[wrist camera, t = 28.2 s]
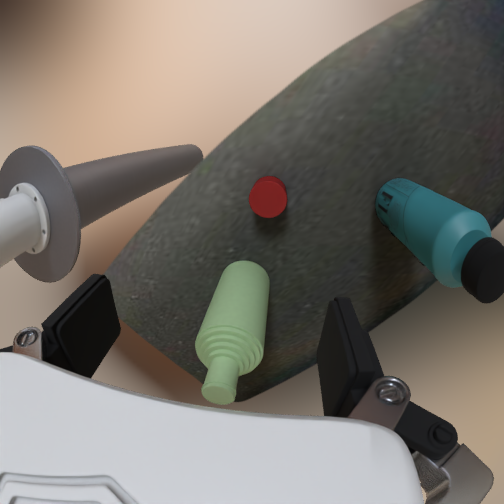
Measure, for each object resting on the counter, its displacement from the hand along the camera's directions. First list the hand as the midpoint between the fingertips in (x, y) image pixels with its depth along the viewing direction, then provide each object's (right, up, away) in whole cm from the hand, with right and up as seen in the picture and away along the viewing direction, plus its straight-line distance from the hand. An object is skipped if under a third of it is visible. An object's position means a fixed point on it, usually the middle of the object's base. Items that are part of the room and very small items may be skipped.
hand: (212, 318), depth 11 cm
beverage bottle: (+19, +9, +19) cm, 28 cm away
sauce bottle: (+1, -1, +26) cm, 26 cm away
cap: (+4, +9, +21) cm, 23 cm away
